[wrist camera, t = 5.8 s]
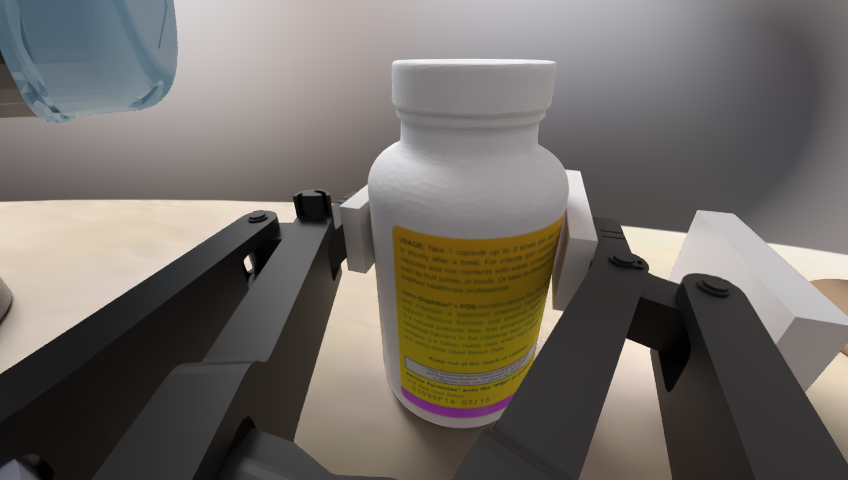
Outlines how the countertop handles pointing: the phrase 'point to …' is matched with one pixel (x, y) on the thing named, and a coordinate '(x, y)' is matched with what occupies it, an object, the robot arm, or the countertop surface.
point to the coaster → (835, 295)
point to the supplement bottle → (465, 233)
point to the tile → (767, 291)
